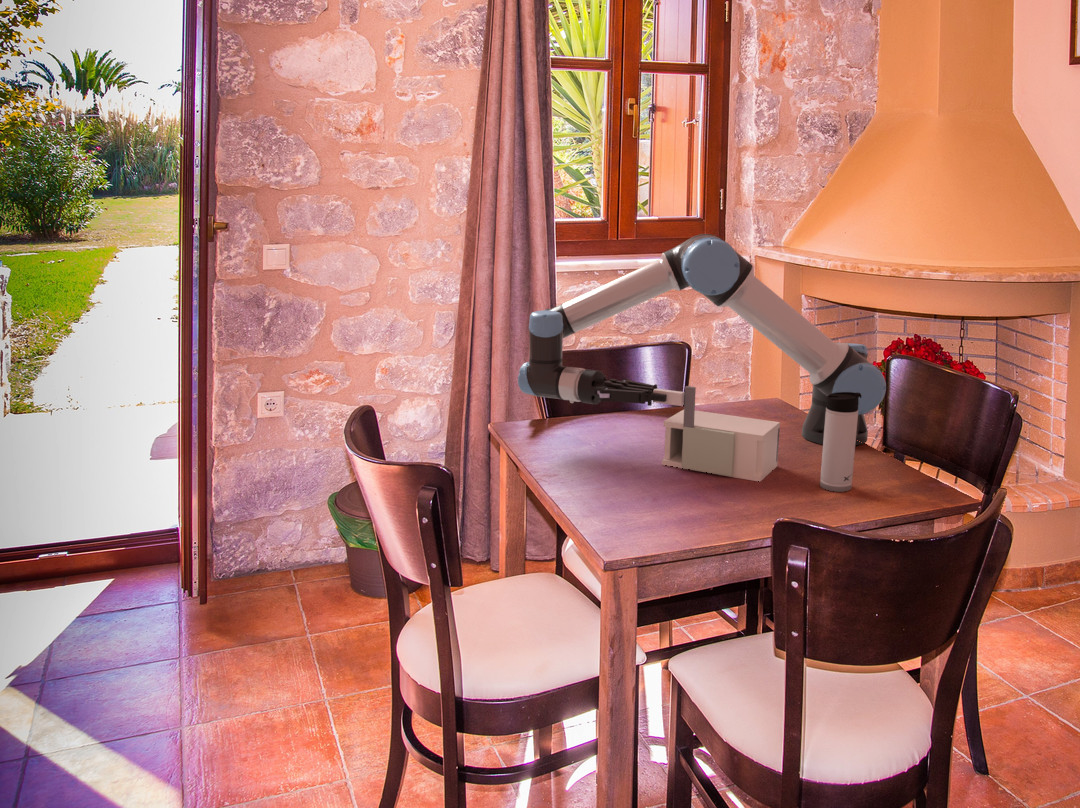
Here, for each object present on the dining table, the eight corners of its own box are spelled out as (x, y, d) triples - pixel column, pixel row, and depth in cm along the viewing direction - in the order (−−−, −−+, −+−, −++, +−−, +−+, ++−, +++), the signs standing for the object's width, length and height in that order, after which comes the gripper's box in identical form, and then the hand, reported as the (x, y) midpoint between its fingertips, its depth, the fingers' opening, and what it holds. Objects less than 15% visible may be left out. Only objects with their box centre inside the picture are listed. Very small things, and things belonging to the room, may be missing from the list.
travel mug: (854, 493, 201) (863, 397, 196) (820, 491, 203) (828, 395, 198) (851, 483, 207) (859, 390, 202) (818, 481, 208) (826, 388, 203)
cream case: (662, 465, 218) (663, 421, 216) (682, 451, 229) (684, 408, 226) (760, 481, 208) (762, 435, 205) (777, 466, 218) (780, 422, 216)
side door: (681, 467, 215) (685, 386, 210) (683, 466, 216) (686, 385, 211) (731, 476, 209) (735, 393, 205) (732, 474, 210) (737, 392, 206)
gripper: (596, 395, 229) (693, 409, 217) (569, 408, 218) (670, 423, 206) (597, 363, 227) (694, 375, 215) (569, 374, 216) (671, 388, 204)
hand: (682, 399), depth 211 cm, fingers closed
